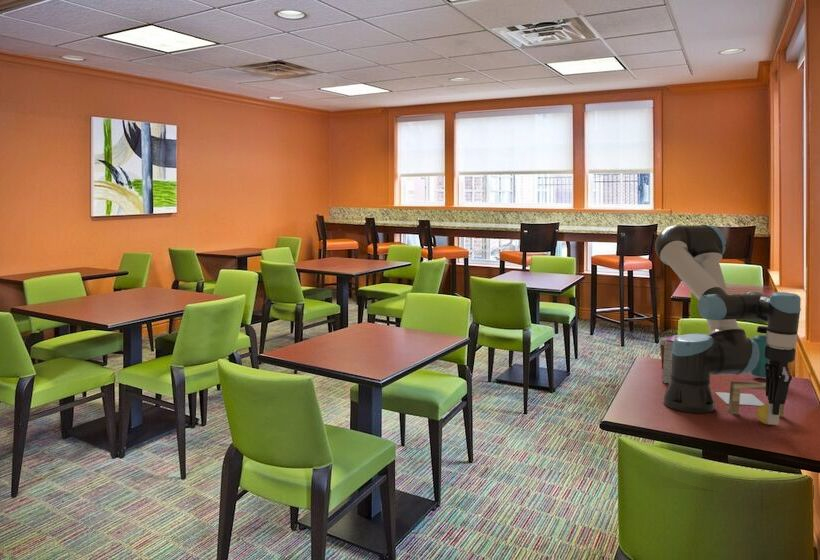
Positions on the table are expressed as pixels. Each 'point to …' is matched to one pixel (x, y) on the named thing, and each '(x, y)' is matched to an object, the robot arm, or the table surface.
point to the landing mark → (741, 399)
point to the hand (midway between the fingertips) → (772, 423)
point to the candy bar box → (668, 358)
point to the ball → (762, 413)
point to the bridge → (735, 395)
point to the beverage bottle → (761, 353)
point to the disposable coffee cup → (662, 348)
